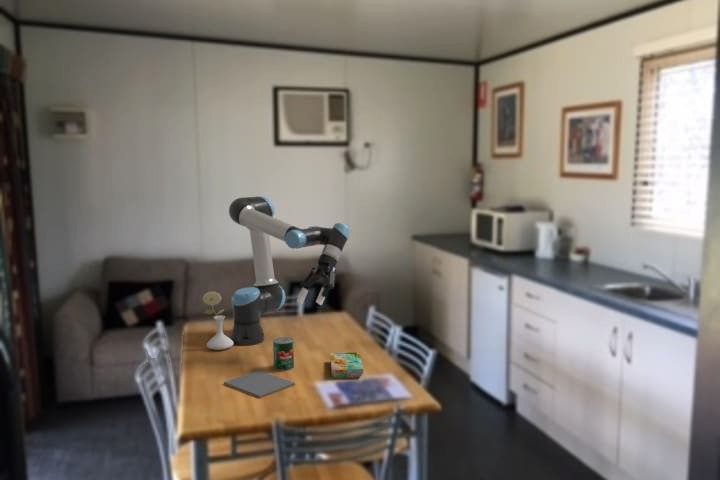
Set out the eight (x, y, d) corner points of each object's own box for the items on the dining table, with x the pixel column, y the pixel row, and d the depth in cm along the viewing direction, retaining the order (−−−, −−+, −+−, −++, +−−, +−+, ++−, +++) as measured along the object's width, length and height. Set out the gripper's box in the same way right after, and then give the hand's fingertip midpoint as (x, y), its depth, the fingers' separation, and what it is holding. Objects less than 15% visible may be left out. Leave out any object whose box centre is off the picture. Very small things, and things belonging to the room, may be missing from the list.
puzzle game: (331, 367, 213) (330, 350, 233) (331, 379, 213) (330, 362, 233) (363, 366, 214) (359, 350, 233) (363, 378, 214) (359, 361, 234)
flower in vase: (237, 344, 257) (235, 288, 254) (228, 352, 246) (227, 294, 243) (208, 343, 258) (206, 288, 255) (199, 351, 247) (196, 293, 244)
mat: (223, 384, 208) (223, 382, 208) (258, 372, 220) (258, 370, 220) (260, 398, 195) (260, 395, 195) (294, 384, 207) (294, 382, 207)
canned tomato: (283, 372, 221) (283, 344, 219) (269, 368, 225) (268, 340, 224) (298, 366, 227) (297, 339, 226) (283, 363, 232) (283, 336, 230)
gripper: (354, 261, 233) (334, 308, 225) (318, 263, 252) (298, 307, 244) (341, 251, 229) (320, 299, 221) (305, 254, 248) (284, 298, 240)
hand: (308, 303), depth 232 cm, fingers open, 13 cm apart
